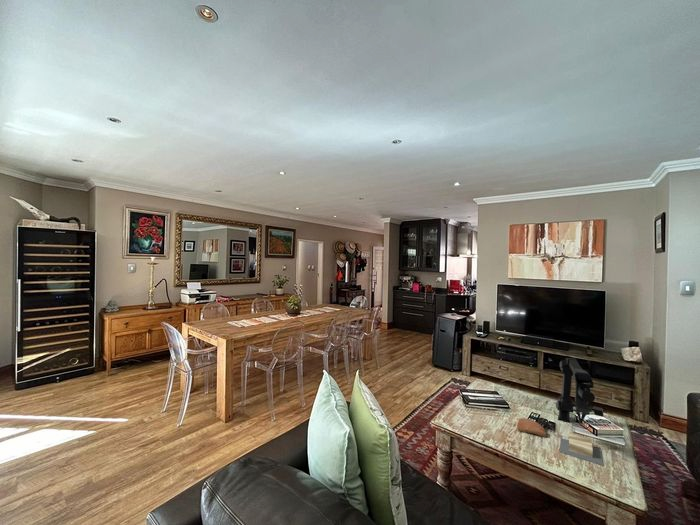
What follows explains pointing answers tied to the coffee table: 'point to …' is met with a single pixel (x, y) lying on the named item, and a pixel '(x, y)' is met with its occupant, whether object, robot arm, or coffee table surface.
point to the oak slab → (580, 445)
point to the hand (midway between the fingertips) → (580, 422)
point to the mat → (596, 454)
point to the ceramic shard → (530, 427)
